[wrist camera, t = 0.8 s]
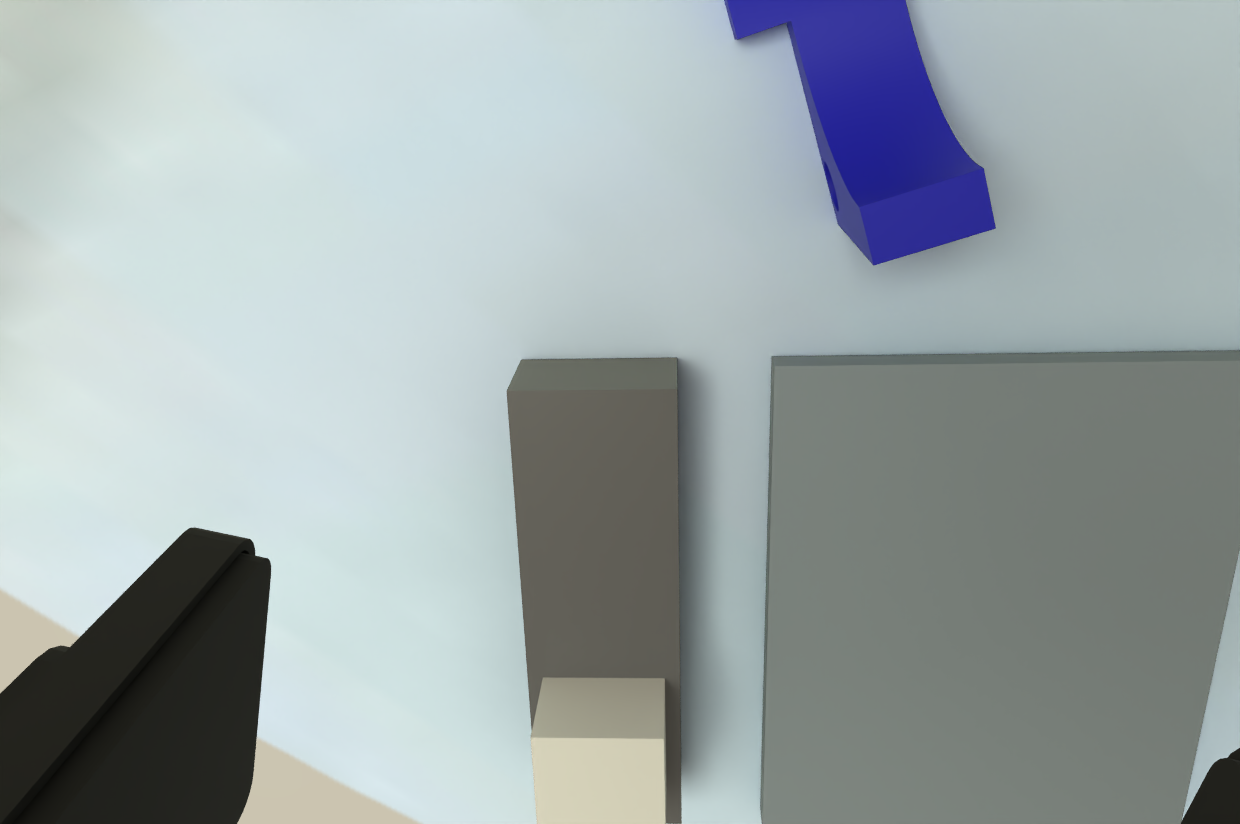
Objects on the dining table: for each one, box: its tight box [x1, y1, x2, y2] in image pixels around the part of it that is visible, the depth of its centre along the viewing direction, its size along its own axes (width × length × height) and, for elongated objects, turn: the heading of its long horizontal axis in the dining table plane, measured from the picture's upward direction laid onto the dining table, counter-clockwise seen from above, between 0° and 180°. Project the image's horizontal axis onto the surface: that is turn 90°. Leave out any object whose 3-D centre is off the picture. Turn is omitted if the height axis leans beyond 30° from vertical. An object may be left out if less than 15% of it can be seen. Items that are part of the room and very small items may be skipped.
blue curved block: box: [724, 0, 996, 265], centre depth 25 cm, size 12×4×6 cm, turn 18°
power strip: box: [507, 358, 681, 824], centre depth 32 cm, size 5×16×6 cm, turn 2°
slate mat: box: [760, 351, 1240, 824], centre depth 34 cm, size 15×18×1 cm
